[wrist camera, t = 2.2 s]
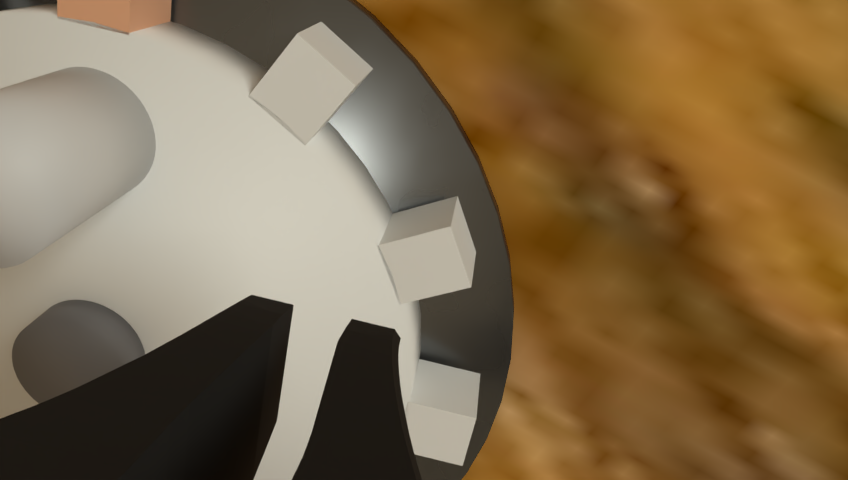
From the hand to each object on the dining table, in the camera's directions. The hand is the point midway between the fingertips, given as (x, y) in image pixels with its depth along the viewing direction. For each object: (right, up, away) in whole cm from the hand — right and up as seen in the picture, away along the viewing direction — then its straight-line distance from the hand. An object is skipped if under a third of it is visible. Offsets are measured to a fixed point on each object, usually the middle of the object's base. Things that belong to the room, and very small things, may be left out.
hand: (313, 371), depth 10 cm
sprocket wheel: (-7, 0, +11) cm, 13 cm away
